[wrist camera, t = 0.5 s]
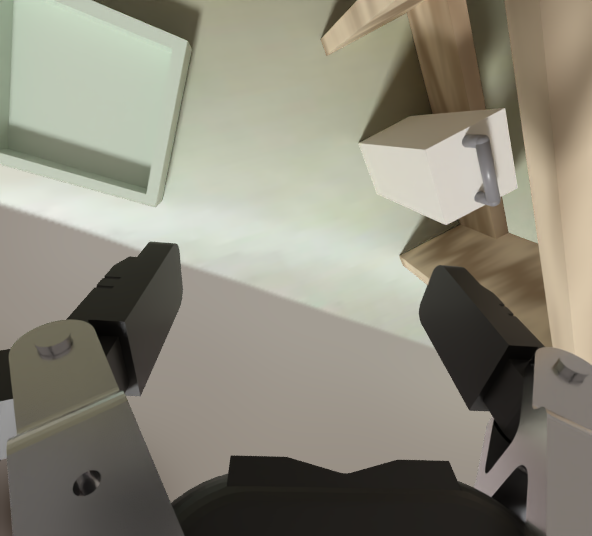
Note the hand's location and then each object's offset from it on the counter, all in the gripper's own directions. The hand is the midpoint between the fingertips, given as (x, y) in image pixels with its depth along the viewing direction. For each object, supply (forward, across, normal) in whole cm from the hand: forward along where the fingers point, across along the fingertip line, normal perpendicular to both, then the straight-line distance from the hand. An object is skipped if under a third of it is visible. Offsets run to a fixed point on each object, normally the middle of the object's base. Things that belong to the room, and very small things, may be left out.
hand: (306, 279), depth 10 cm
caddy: (+21, -9, 0) cm, 23 cm away
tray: (+19, +15, -2) cm, 24 cm away
